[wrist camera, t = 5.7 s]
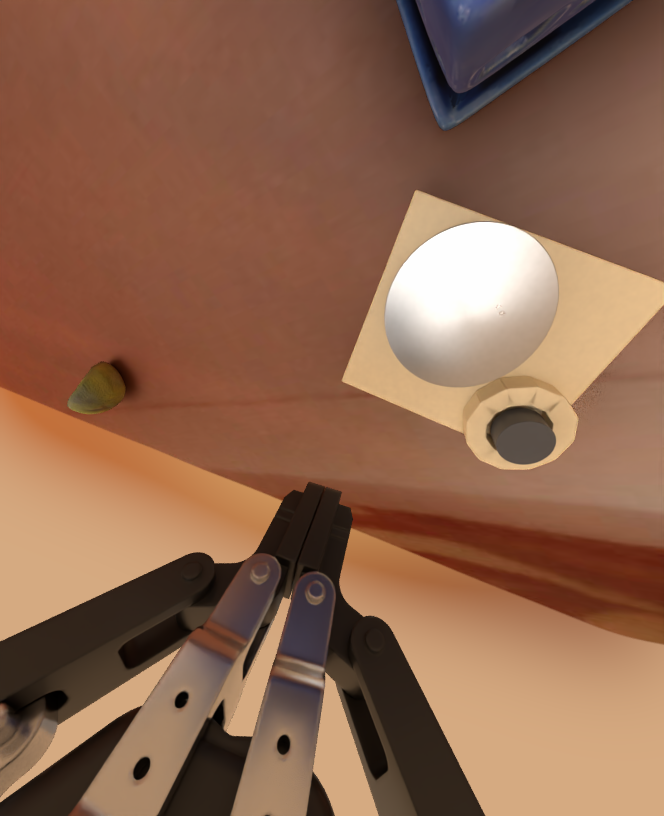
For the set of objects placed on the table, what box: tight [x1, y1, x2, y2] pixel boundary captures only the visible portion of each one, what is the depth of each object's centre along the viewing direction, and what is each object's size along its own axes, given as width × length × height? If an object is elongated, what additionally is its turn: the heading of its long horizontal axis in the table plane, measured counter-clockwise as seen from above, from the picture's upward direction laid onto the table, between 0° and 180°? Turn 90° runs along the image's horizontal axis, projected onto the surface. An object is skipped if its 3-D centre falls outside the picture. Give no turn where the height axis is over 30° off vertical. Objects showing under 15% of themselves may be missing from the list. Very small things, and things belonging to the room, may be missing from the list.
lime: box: [67, 361, 126, 414], centre depth 27 cm, size 4×5×5 cm
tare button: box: [490, 408, 556, 465], centre depth 17 cm, size 3×3×2 cm
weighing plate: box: [384, 221, 559, 387], centre depth 16 cm, size 8×8×1 cm
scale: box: [342, 190, 664, 470], centre depth 18 cm, size 14×12×3 cm
